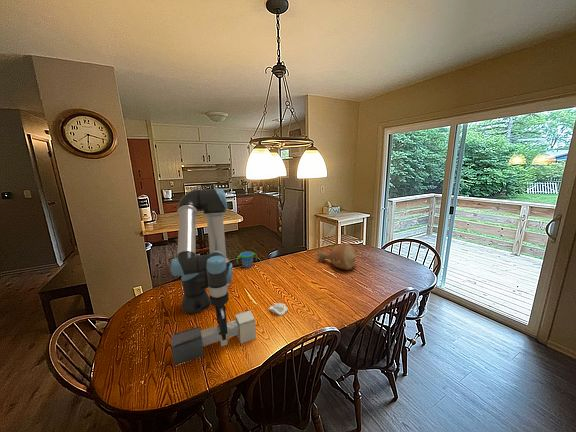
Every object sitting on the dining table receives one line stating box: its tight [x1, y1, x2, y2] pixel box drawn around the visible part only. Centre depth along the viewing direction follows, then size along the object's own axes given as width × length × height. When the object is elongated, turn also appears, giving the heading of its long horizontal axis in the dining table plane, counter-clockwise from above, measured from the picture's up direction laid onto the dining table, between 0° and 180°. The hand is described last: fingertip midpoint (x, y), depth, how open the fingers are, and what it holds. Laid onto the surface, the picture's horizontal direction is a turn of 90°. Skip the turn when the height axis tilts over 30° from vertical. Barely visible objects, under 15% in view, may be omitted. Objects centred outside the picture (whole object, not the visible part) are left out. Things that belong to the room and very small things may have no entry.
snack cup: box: [236, 250, 258, 269], centre depth 180 cm, size 16×10×10 cm
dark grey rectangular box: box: [170, 326, 205, 366], centre depth 96 cm, size 11×7×10 cm, turn 117°
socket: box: [234, 309, 257, 345], centre depth 107 cm, size 7×8×10 cm
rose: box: [268, 302, 288, 316], centre depth 126 cm, size 10×4×10 cm
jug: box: [316, 243, 356, 271], centre depth 177 cm, size 20×19×30 cm
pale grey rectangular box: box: [200, 319, 240, 347], centre depth 101 cm, size 23×5×5 cm, turn 117°
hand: (223, 340), depth 103 cm, fingers closed on pale grey rectangular box, 4 cm apart
